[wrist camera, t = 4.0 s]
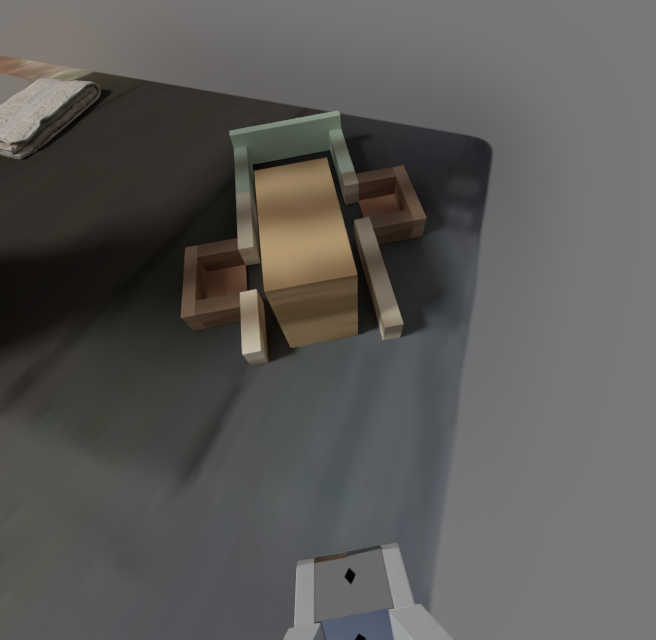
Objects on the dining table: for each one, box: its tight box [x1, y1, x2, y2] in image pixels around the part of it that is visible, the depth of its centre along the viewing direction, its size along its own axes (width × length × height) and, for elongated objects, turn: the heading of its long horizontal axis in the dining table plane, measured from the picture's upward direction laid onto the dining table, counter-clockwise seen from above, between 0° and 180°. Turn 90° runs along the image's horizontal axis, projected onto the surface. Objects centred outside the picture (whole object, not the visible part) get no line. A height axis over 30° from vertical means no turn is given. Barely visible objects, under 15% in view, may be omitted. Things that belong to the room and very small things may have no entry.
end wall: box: [229, 111, 341, 165], centre depth 39 cm, size 1×13×4 cm, turn 99°
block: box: [254, 157, 358, 348], centre depth 27 cm, size 12×6×9 cm, turn 9°
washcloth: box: [0, 78, 101, 159], centre depth 50 cm, size 12×18×3 cm, turn 161°
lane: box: [181, 128, 427, 366], centre depth 33 cm, size 27×23×2 cm
